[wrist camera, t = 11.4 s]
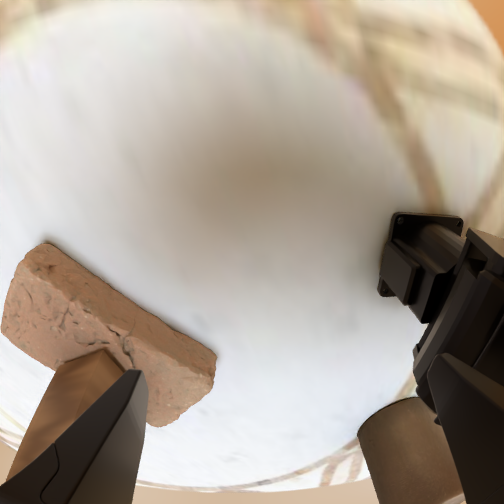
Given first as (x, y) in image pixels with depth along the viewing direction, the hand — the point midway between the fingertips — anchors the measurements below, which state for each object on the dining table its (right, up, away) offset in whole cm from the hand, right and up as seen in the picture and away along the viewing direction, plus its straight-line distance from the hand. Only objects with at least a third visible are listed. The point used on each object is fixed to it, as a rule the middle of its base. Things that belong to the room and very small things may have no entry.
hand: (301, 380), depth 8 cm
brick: (-13, -2, +15) cm, 20 cm away
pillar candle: (+16, -17, +23) cm, 32 cm away
